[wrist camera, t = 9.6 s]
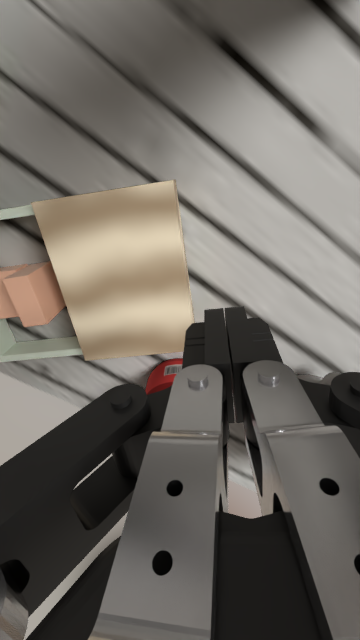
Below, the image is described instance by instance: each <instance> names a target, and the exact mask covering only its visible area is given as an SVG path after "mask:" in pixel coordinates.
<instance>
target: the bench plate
mask: <svg viewBox="0 0 360 640" xmlns="http://www.w3.org/2000/svg"><path fill="white" fill-rule="evenodd" d="M31 205H32V208H33V211H34V214H35V217H36V219H37V222H38V225H39V228H40V231H41V234H42V237H43V240H44V243H45V245H46V248H47V251H48V254H49V257H50V260H51V263H52V266H53V269H54V272H55V274H56V277H57V280H58V283H59V286H60V289H61V292H62V295H63V298H64V300H65V303H66V306H67V309H68V312H69V315H70V318H71V321H72V324H73V326H74V329H75V332H76V335H77V338H78V341H79V344H80V347H81V350H82V353H83V355H84V358H85V361H86V360H97V359H108V358H119V357H129V356H140V355H151V354H162V353H172V352H183V351H184V343H185V334H186V330H187V329H188V327H189V326H190V325H191V324H192V323H195V322H194V314H193V307H192V299H191V292H190V284H189V277H188V270H187V262H186V255H185V247H184V240H183V232H182V225H181V217H180V210H179V203H178V195H177V188H176V180H169V181H163V182H157V183H150V184H144V185H138V186H131V187H125V188H119V189H113V190H106V191H100V192H94V193H87V194H81V195H75V196H68V197H62V198H56V199H50V200H44V201H38V202H32V203H31Z"/></svg>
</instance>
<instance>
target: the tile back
mask: <svg viewBox="0 0 360 640" xmlns="http://www.w3.org/2000/svg"><path fill="white" fill-rule="evenodd" d="M26 266H28V265H27V264H22V265H15V266H9V267H2V268H0V319H3V318H11V317H19V315H18V313H17V311H16V308H15V306H14V304H13V302H12V300H11V297H10V295H9V293H8V291H7V289H6V287H5V284H4V282H3V280H2V279H4V278H6V277H8V276H9V275H11V274H13V273H15V272H17V271H19V270H21V269H23V268H24V267H26Z"/></svg>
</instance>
